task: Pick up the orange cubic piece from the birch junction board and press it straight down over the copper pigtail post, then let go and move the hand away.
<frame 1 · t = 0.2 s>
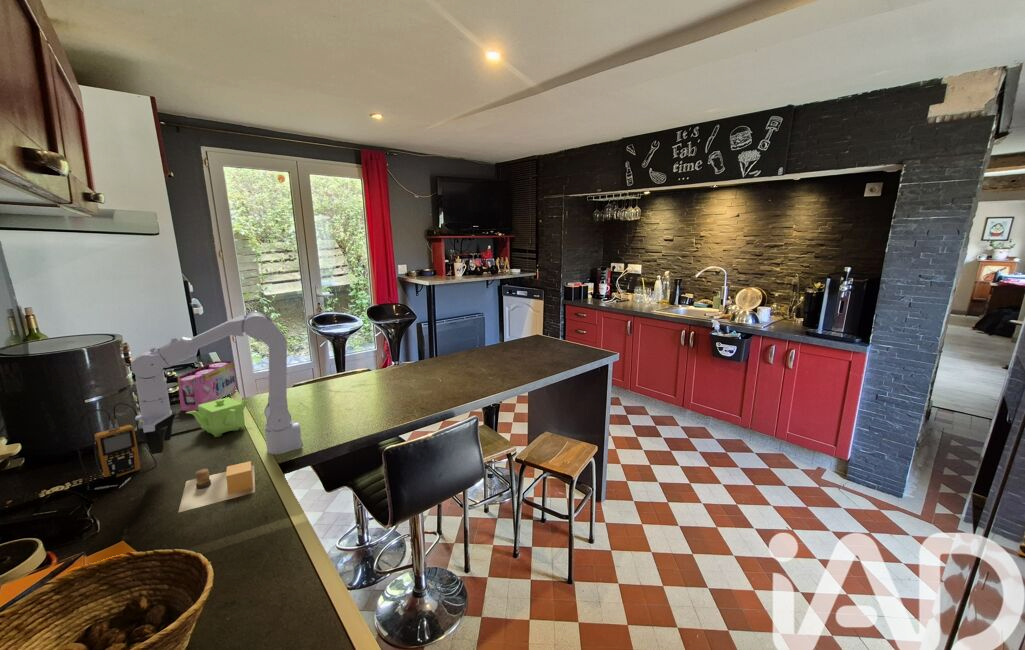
hand: (161, 446, 104), 10 cm above the kitchen counter, fingers open, 7 cm apart
orange cubic piece: (241, 485, 102), point 1 cm above the kitchen counter, touching junction board
junction board: (220, 491, 102), on the kitchen counter
gum box: (210, 400, 162), on the kitchen counter
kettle: (222, 431, 135), on the kitchen counter
multimeter: (127, 478, 106), on the kitchen counter
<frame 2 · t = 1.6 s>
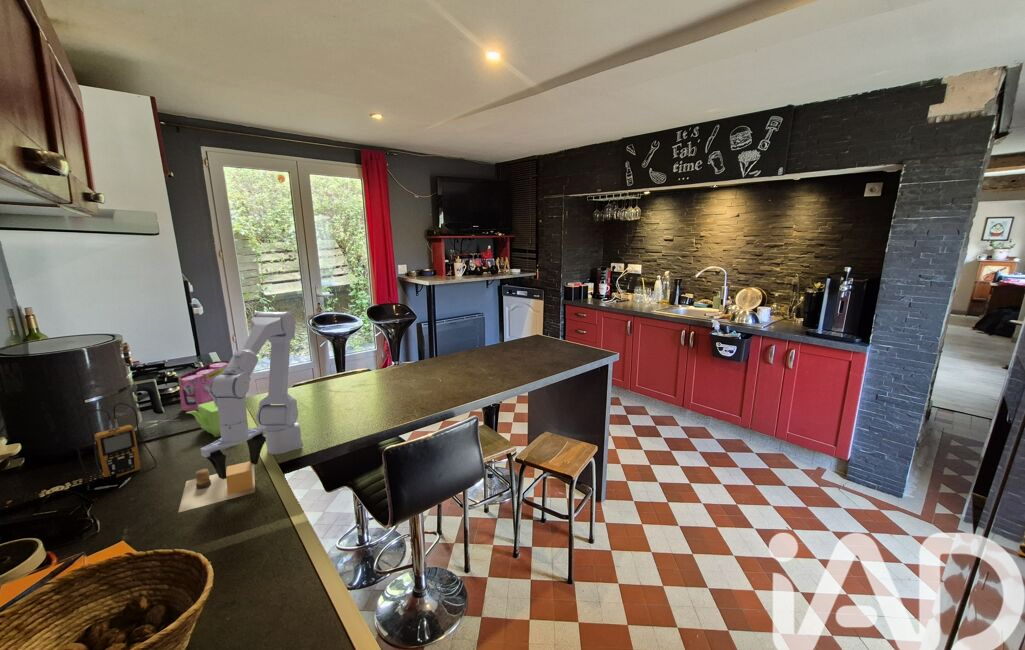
hand: (239, 470, 101), 6 cm above the kitchen counter, fingers open, 7 cm apart
orange cubic piece: (240, 485, 102), point 2 cm above the kitchen counter, touching gripper
everything else where it was.
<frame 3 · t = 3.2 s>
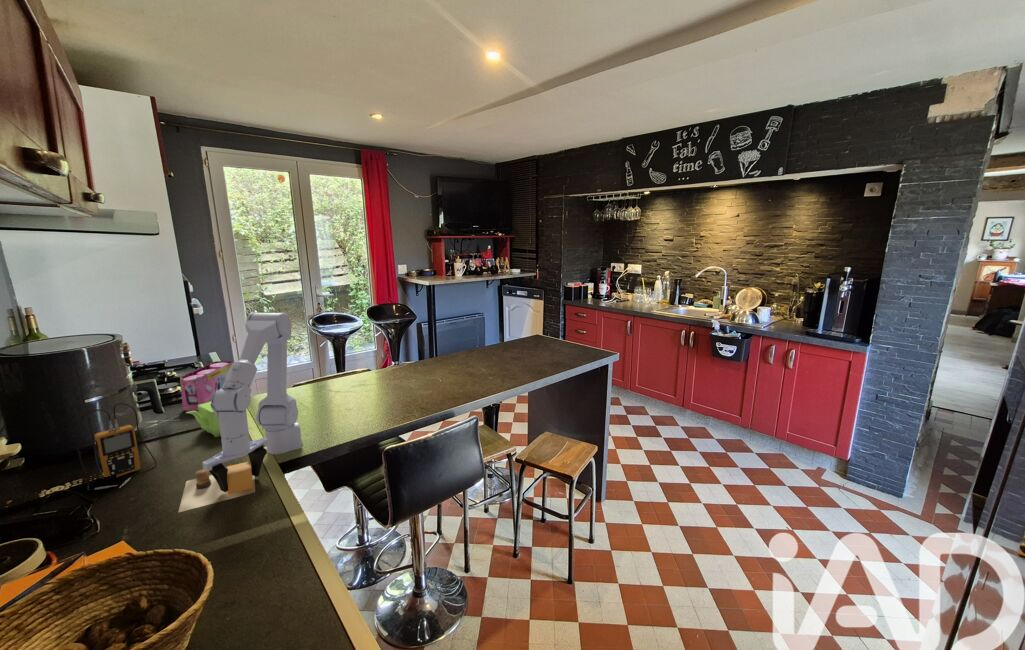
hand: (240, 482, 101), 2 cm above the kitchen counter, fingers closed on orange cubic piece, 7 cm apart
orange cubic piece: (240, 485, 102), point 2 cm above the kitchen counter, touching gripper, junction board
everything else where it was.
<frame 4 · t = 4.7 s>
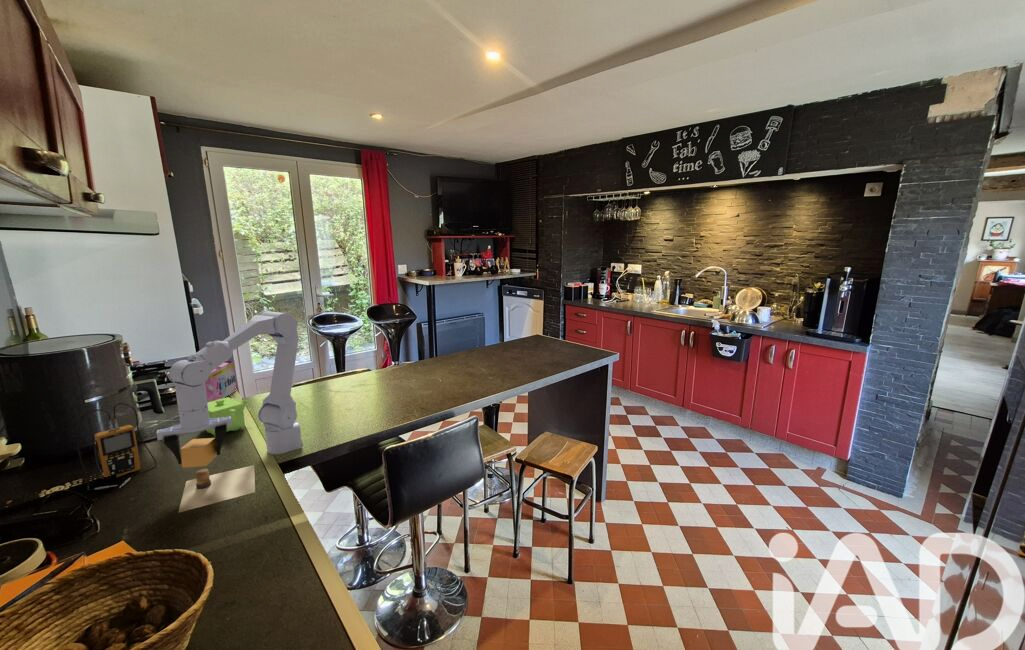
hand: (200, 457, 100), 9 cm above the kitchen counter, fingers closed on orange cubic piece, 7 cm apart
orange cubic piece: (200, 461, 100), point 8 cm above the kitchen counter, touching gripper
everything else where it was.
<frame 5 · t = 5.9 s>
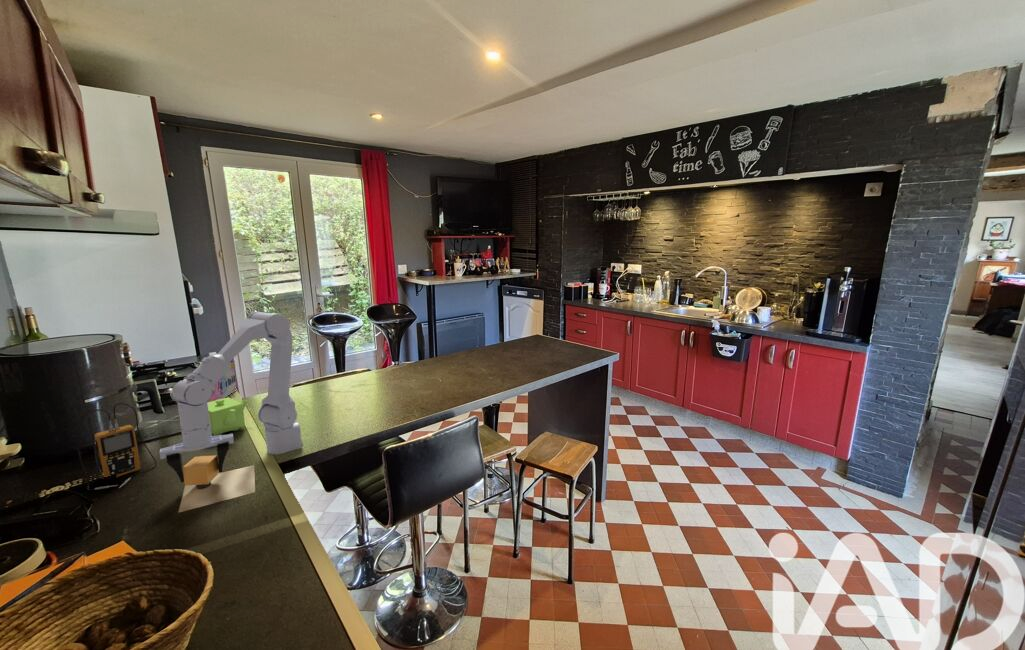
hand: (202, 475, 101), 4 cm above the kitchen counter, fingers closed on orange cubic piece, 7 cm apart
orange cubic piece: (202, 478, 101), point 4 cm above the kitchen counter, touching gripper
when the fingers open (3 cm above the kitchen counter, at t = 6.8 s): orange cubic piece stays where it is, resting on junction board.
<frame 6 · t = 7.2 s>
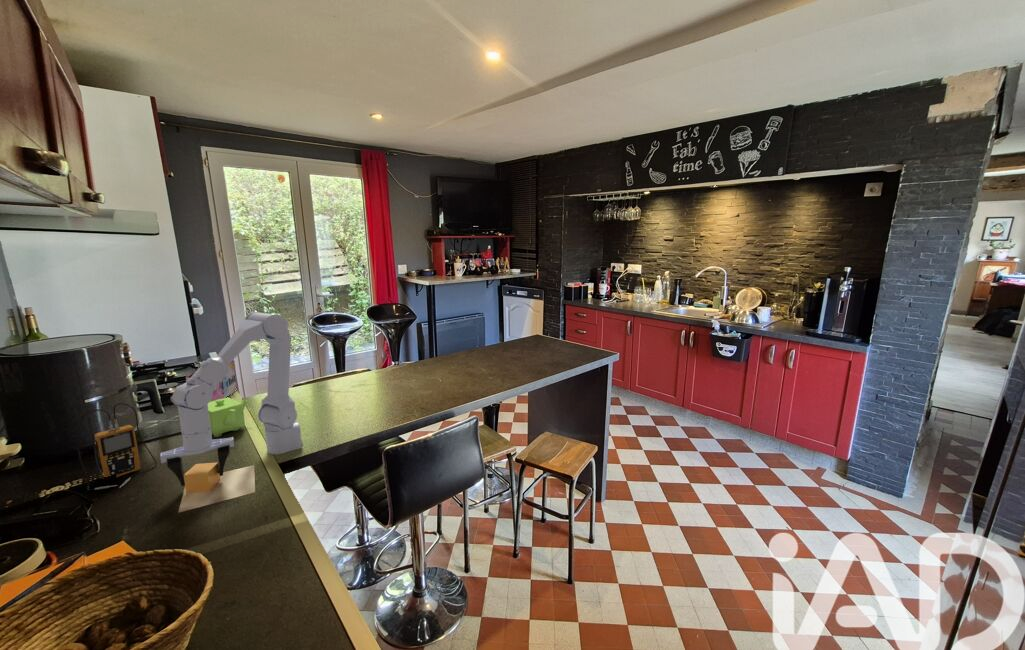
hand: (202, 478, 101), 3 cm above the kitchen counter, fingers open, 7 cm apart
orange cubic piece: (203, 486, 101), point 1 cm above the kitchen counter, touching junction board
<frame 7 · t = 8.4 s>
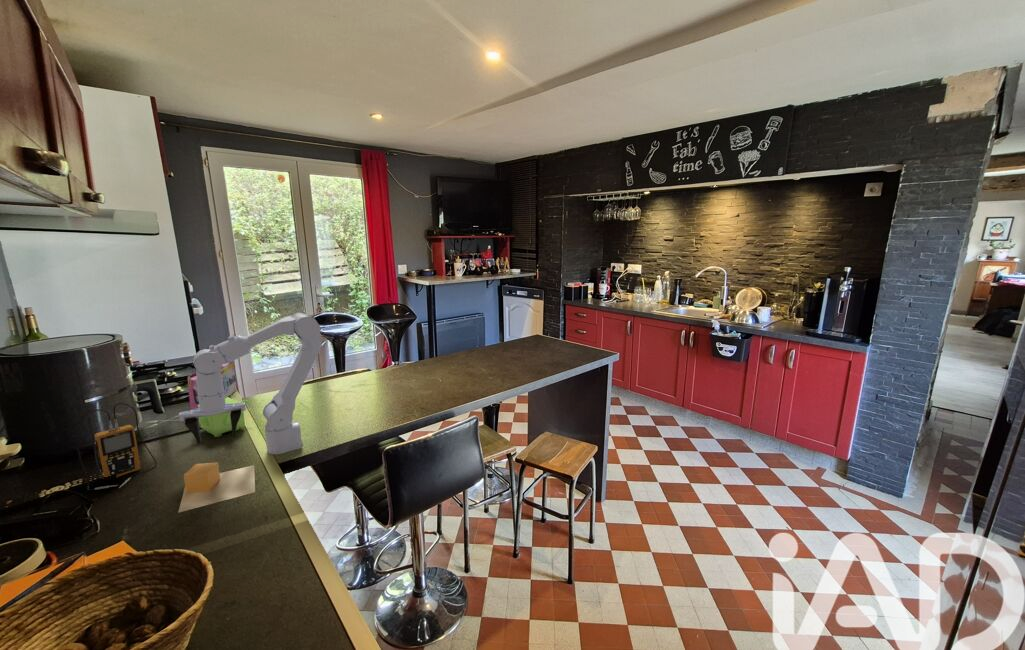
hand: (217, 439, 110), 9 cm above the kitchen counter, fingers open, 7 cm apart
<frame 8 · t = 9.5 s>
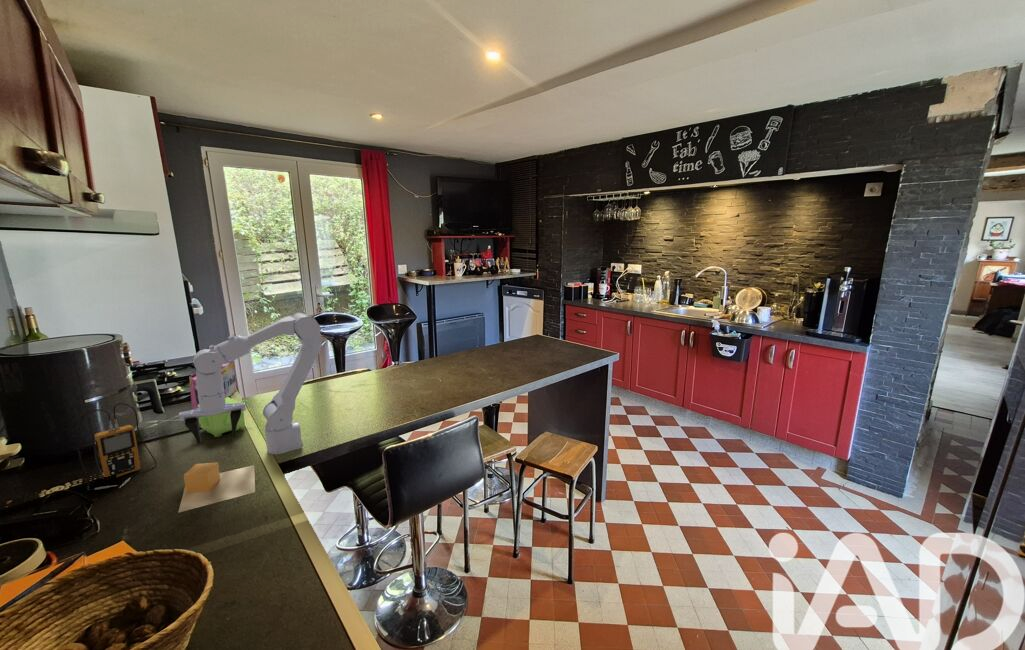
hand: (217, 439, 110), 9 cm above the kitchen counter, fingers open, 7 cm apart
at the end: orange cubic piece 0.2 cm from the target spot on the junction board, point 1.5 cm above the junction board's base; orange cubic piece tilted 0°; the gripper is holding nothing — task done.
